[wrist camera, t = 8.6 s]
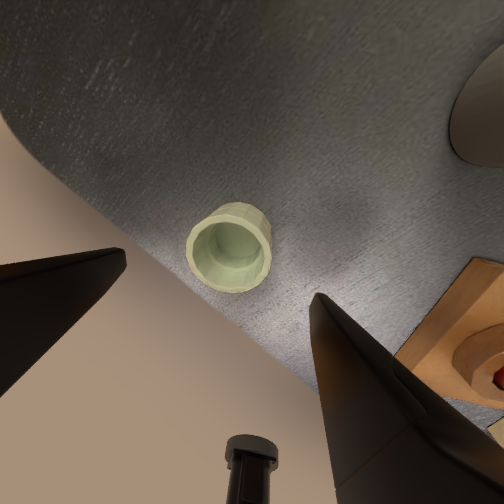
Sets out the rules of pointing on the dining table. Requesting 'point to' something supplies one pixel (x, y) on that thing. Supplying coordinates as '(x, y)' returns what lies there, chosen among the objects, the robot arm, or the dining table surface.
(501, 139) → the bottle
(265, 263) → the mint green cup
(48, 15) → the dining table surface
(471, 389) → the block
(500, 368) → the tare button
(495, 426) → the scale
